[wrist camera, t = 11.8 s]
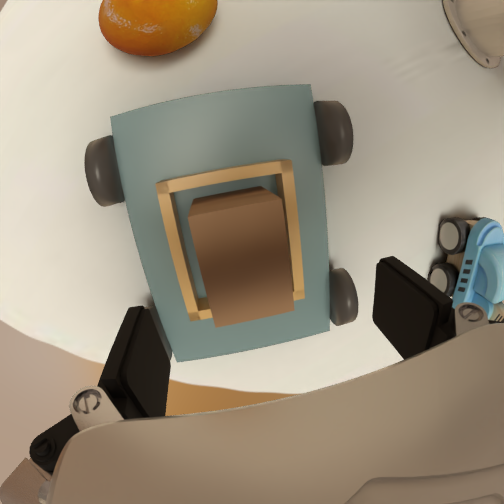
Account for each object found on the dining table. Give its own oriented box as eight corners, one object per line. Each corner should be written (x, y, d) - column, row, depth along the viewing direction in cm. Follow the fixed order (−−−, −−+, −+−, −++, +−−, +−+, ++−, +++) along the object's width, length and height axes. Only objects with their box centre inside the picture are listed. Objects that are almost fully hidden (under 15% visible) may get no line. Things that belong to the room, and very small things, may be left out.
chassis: (102, 124, 18) (77, 119, 14) (317, 89, 20) (344, 76, 15) (165, 351, 26) (160, 386, 22) (334, 316, 28) (355, 344, 23)
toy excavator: (411, 332, 31) (489, 417, 16) (438, 207, 26) (565, 262, 10) (450, 319, 33) (523, 386, 17) (477, 209, 27) (579, 254, 11)
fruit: (253, 23, 14) (190, -46, 7) (162, 90, 18) (80, 55, 11) (212, -17, 15) (158, -65, 8) (140, 39, 19) (77, 8, 11)
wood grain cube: (193, 198, 20) (187, 217, 14) (261, 185, 20) (281, 198, 15) (212, 284, 22) (215, 327, 17) (273, 271, 23) (294, 310, 17)
